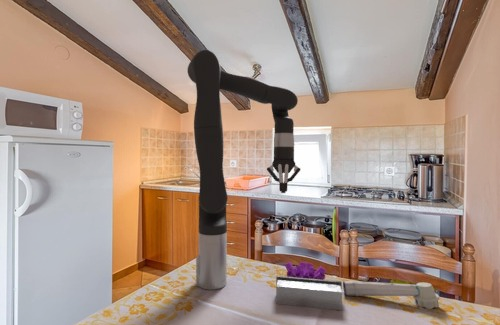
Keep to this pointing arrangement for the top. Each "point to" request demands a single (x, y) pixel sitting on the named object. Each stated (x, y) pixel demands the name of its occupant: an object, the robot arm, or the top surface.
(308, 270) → the purple tube coral
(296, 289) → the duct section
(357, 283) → the white handheld device
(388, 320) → the top surface
